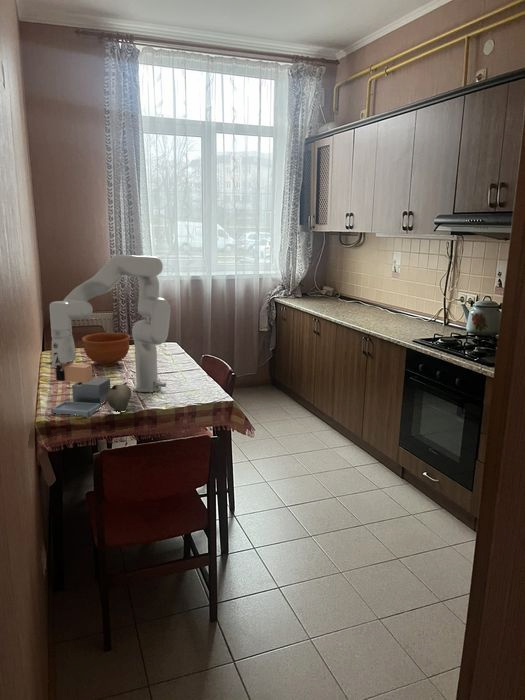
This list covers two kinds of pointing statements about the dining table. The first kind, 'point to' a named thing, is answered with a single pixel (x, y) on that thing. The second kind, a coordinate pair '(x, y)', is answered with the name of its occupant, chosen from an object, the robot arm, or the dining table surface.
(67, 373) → the tan rectangular block
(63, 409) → the tray
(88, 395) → the dispenser
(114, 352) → the bowl
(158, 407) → the dining table surface
